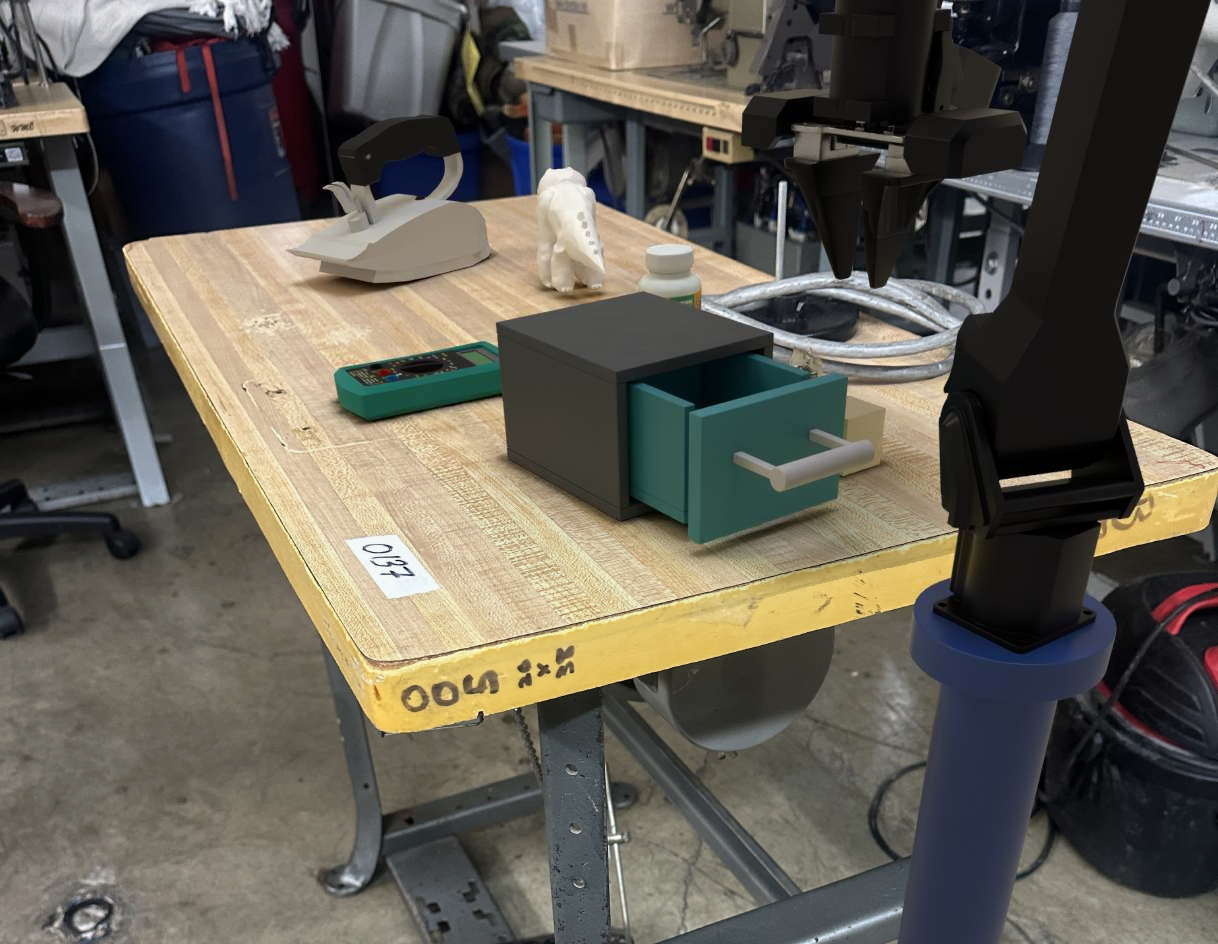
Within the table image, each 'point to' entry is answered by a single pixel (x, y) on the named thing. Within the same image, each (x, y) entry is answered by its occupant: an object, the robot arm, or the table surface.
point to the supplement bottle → (672, 274)
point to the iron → (398, 210)
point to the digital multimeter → (420, 381)
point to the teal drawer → (737, 442)
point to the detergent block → (864, 427)
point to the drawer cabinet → (599, 384)
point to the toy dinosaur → (568, 232)
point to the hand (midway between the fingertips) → (860, 283)
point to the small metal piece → (806, 362)
